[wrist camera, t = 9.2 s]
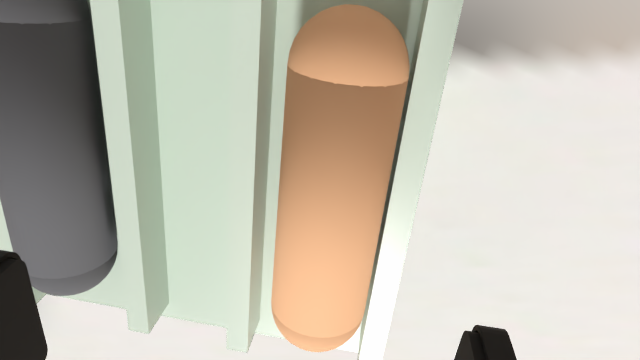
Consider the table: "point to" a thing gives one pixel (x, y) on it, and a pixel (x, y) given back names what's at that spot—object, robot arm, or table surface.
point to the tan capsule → (335, 170)
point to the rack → (233, 156)
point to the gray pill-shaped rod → (54, 146)
